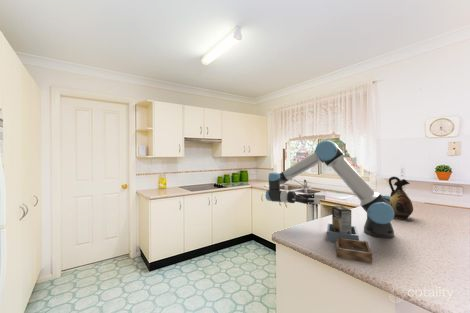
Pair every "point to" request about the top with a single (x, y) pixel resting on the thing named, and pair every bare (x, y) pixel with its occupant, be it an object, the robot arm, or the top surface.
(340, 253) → the walnut caddy
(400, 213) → the ceramic jug
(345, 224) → the coffee box
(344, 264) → the top surface
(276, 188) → the robot arm
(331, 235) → the slate tray
